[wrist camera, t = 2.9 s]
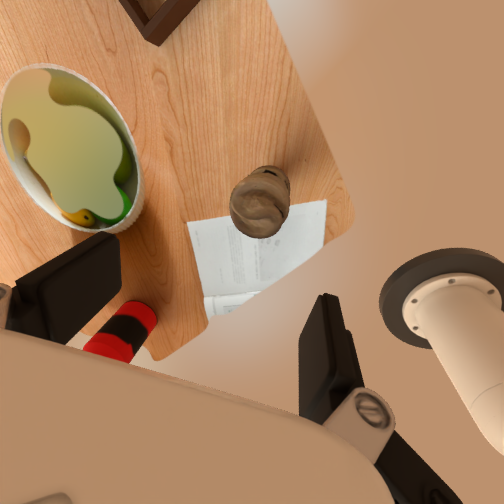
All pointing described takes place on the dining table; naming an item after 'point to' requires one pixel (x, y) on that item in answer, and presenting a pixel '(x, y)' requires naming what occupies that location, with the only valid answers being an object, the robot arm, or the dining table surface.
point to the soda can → (123, 332)
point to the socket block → (158, 18)
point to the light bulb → (261, 202)
